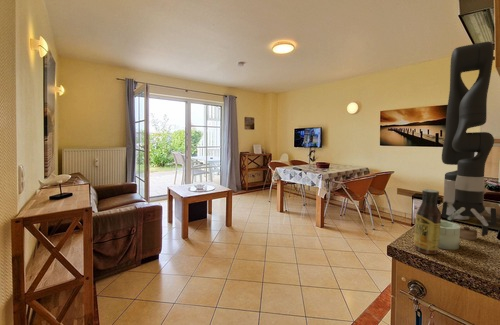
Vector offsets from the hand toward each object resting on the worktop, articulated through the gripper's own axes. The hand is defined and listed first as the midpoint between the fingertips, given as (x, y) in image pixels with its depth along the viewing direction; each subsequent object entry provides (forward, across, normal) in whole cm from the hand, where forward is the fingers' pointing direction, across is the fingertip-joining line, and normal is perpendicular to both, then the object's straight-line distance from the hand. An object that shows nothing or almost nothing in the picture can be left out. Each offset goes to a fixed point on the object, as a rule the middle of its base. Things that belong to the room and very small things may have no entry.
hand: (466, 232), depth 83 cm
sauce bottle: (+2, +9, +23) cm, 25 cm away
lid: (+2, 0, 0) cm, 2 cm away
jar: (+2, +6, +13) cm, 14 cm away
